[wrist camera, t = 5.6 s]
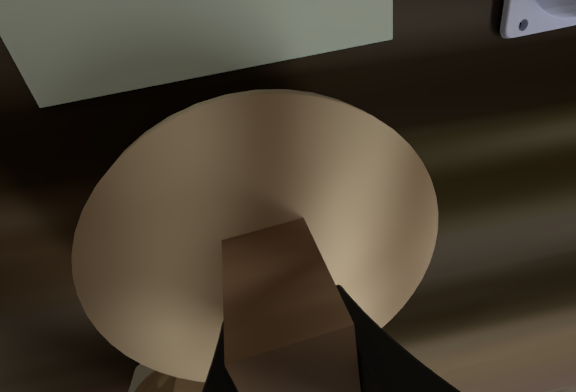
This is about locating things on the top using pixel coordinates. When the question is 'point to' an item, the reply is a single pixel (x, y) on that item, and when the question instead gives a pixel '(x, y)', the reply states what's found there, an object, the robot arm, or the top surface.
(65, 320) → the top surface
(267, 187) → the lid
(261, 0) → the mat
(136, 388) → the skincare box
